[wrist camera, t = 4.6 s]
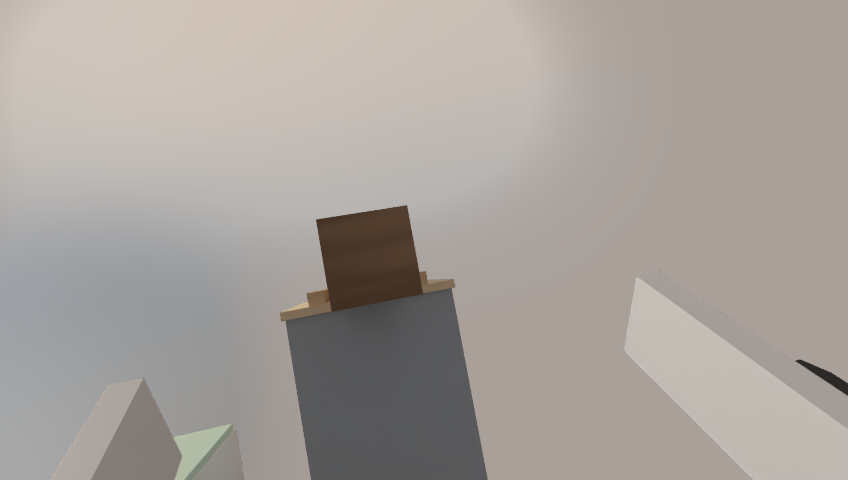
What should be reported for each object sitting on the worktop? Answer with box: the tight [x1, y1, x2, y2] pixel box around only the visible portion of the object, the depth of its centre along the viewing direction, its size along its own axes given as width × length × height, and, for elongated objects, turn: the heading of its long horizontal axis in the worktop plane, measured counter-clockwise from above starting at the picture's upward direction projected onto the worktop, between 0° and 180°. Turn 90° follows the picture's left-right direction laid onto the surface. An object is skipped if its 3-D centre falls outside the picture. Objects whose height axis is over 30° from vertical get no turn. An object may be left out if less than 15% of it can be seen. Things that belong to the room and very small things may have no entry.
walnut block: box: [316, 206, 423, 312], centre depth 29 cm, size 26×4×4 cm, turn 10°
